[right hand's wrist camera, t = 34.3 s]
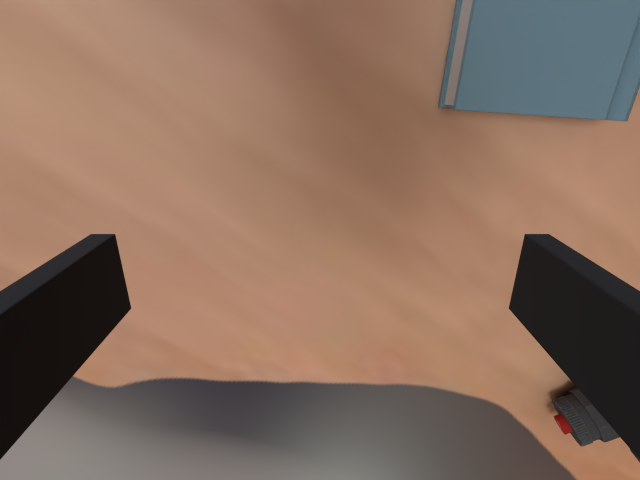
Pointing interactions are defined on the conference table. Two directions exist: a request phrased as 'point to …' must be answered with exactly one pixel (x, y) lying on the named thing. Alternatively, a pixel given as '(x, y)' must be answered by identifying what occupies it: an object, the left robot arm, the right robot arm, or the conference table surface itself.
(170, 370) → the conference table surface
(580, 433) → the laser sight
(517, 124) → the conference table surface
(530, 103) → the book
